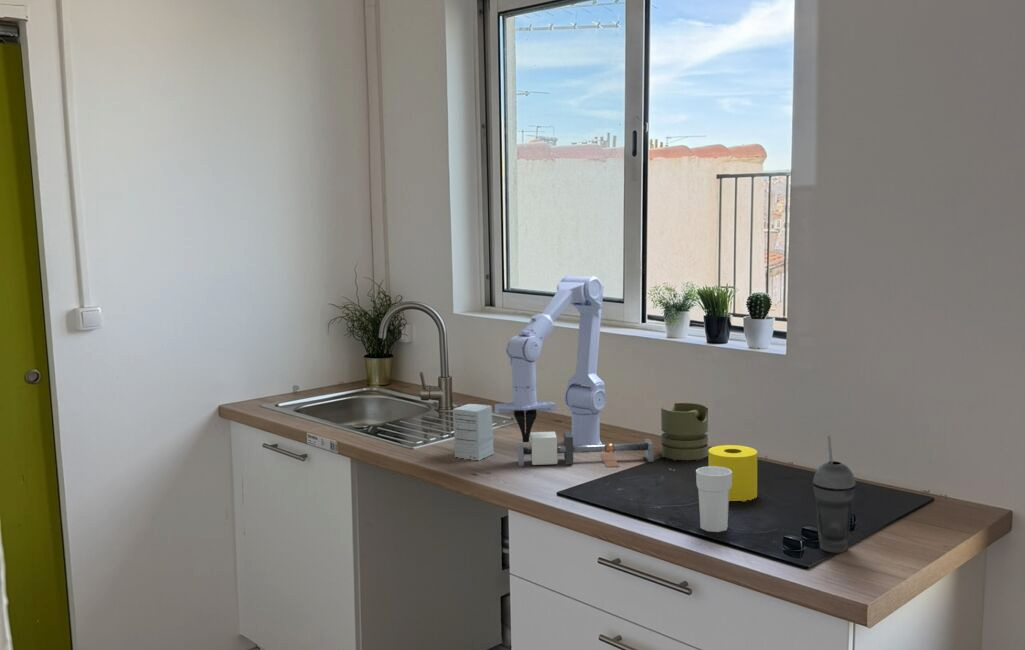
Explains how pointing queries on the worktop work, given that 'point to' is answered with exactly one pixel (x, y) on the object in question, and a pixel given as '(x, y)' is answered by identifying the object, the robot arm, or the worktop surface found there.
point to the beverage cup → (833, 503)
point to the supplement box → (473, 431)
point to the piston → (685, 431)
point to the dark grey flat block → (568, 447)
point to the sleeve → (543, 448)
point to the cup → (713, 497)
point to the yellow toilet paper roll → (737, 469)
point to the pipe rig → (606, 447)
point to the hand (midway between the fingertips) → (525, 441)
